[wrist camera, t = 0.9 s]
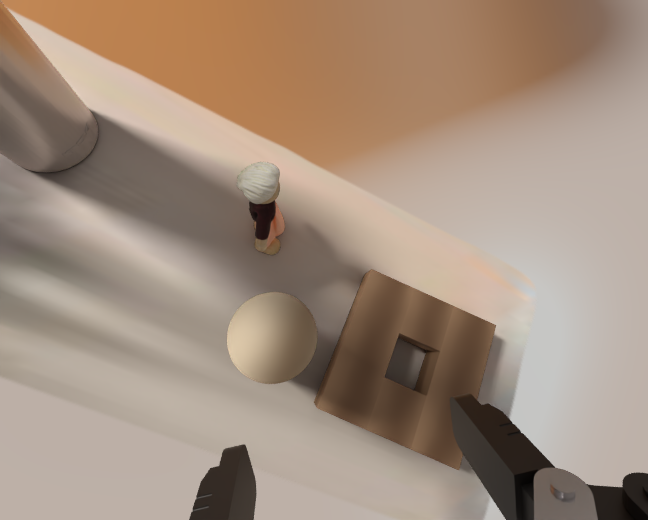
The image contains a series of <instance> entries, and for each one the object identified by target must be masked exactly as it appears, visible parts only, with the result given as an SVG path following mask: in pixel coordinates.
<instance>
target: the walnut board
mask: <svg viewBox="0 0 648 520" xmlns="http://www.w3.org/2000/svg"><path fill="white" fill-rule="evenodd" d="M495 328H496V325H494V324H492V323H490V322H488V321H485V320H483V319H481V318H479V317H477V316H474V315H472V314H470V313H468V312H465V311H463V310H461V309H459V308H457V307H454V306H452V305H450V304H448V303H446V302H443V301H441V300H439V299H437V298H434V297H432V296H430V295H428V294H426V293H423V292H421V291H419V290H417V289H414V288H412V287H410V286H408V285H406V284H403V283H401V282H399V281H397V280H394V279H392V278H390V277H388V276H386V275H383V274H381V273H379V272H377V271H375V270H372V269H371V270H370V271H369V272H368V273H366V274H365V275H364V277H363V280H362V282H361V285H360V287H359V290H358V292H357V295H356V297H355V300H354V302H353V305H352V307H351V310H350V313H349V315H348V318H347V320H346V323H345V325H344V328H343V330H342V333H341V335H340V338H339V340H338V343H337V345H336V348H335V350H334V353H333V355H332V358H331V360H330V363H329V365H328V368H327V371H326V373H325V376H324V378H323V381H322V383H321V386H320V388H319V391H318V393H317V396H316V398H315V401H314V403H315V405H316V407H317V408H318V409H320V410H323V411H325V412H327V413H329V414H332V415H334V416H336V417H339V418H341V419H343V420H345V421H348V422H350V423H352V424H355V425H357V426H359V427H361V428H364V429H366V430H368V431H370V432H373V433H375V434H377V435H380V436H382V437H384V438H386V439H389V440H391V441H393V442H396V443H398V444H400V445H402V446H405V447H407V448H409V449H411V450H414V451H416V452H418V453H421V454H423V455H425V456H427V457H430V458H432V459H434V460H437V461H439V462H441V463H443V464H446V465H448V466H450V467H452V468H455V469H457V470H459V468H460V465H461V461H462V457H463V453H462V451H461V450H460V448H459V446H458V444H457V442H456V440H455V437H454V433H453V427H452V418H451V409H450V398H451V397H454V396H458V395H462V394H466V393H470V394H472V395H473V396H474V397H475V399H476V400H477V398H478V394H479V390H480V386H481V382H482V378H483V375H484V371H485V367H486V363H487V359H488V355H489V351H490V347H491V343H492V339H493V335H494V331H495ZM398 338H400V339H402V340H404V341H406V342H409V343H411V344H413V345H415V346H418V347H420V348H422V349H424V350H427V351H426V355H425V358H424V361H423V364H422V367H421V371H420V374H419V377H418V380H417V383H416V387H415V390H412V389H410V388H408V387H405V386H403V385H401V384H399V383H396V382H394V381H392V380H390V379H387V378H385V377H384V376H385V374H386V371H387V368H388V365H389V362H390V359H391V356H392V353H393V350H394V347H395V344H396V341H397V339H398Z"/></svg>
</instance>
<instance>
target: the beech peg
mask: <svg viewBox="0 0 648 520" xmlns="http://www.w3.org/2000/svg"><path fill="white" fill-rule="evenodd" d="M317 337H318V336H317V327H316V323H315V320H314V318H313V315H312V314H311V312H310V310H309V309H308V308H307V307H306V305H304V304H303V303H302V302H301V301H300V300H298V299H297V298H295V297H293V296H291V295H288V294H285V293H281V292H268V293H262V294H259V295H257V296H254V297H252V298H251V299H249V300H247V301H246V302H245V303H244V304H242V306H241V307H240V308H239V309H238V310H237V311H236V313H235V314H234V316H233V318H232V320H231V322H230V325H229V328H228V334H227V346H228V351H229V354H230V357H231V359H232V361H233V363H234V365H235V366H236V367H237V369H238V370H239V371H240V372H241V373H242V374H244V375H245V376H246V377H248V378H250V379H252V380H254V381H257V382H260V383H265V384H276V383H281V382H285V381H288V380H290V379H292V378H294V377H295V376H297V375H298V374H300V373H301V372H302V371H303V370H304V369H305V368H306V367H307V365H308V364H309V362H310V361H311V359H312V357H313V355H314V353H315V350H316V346H317Z"/></svg>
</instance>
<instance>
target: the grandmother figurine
mask: <svg viewBox="0 0 648 520" xmlns="http://www.w3.org/2000/svg"><path fill="white" fill-rule="evenodd" d="M279 176H280V171H279V169H278V168H277V167H276V166H275V165H274V164H272V163H268V162H258V163H254V164H251V165H249V166H248V167H246V168H245V170H243V171H241V173H240V174H239V175H238V178H237V187H238V189H240V190H241V191H243V192H244V194H245V196H246V197H247V198H248V199H249V201H250V202H249V206H250V208H249V210H250V213H251V216H252V218H253V220H254V228H255V230H256V232H255V236H256V240H255V244H254V245H255V248H256V249H257V250H258V251H260V252H264V253H266V254H269V255H274V254H276V253H278V251H279V249H280V242H279V240H278V239H277V238H275V237H276V236H278V235H280V234H282V233H283V231H284V229H285V224H284V219H283V216H282V214H281V212H280V210H279V208H278V206H277V203H276V202H275V199H276V198H277V196H278V195H279V191H280V184H279Z"/></svg>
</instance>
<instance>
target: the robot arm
mask: <svg viewBox="0 0 648 520" xmlns="http://www.w3.org/2000/svg"><path fill="white" fill-rule="evenodd" d="M97 138H98V126H97V121H96V120H95V118H94V116H93V114H92V113H91V112H90V110H89V109H88V108H87V107H86V106H85V104H84V103H83V102H82V101H81V99H80V98H79V97H78V96H77V94H76V93H75V92H74V91H73V90H72V88H71V87H70V86H69V84H68V83H67V82H66V81H65V79H64V78H63V77H62V76H61V74H60V73H59V72H58V71H57V69H56V68H55V67H54V66H53V65H52V63H51V62H50V61H49V60H48V58H47V57H46V56H45V55H44V53H43V52H42V51H41V50H40V49H39V47H38V46H37V45H36V44H35V42H34V41H33V40H32V39H31V37H30V36H29V35H28V34H27V33H26V31H25V30H24V29H23V28H22V26H21V25H20V24H19V23H18V21H17V20H16V19H15V18H14V17H13V15H12V14H11V13H10V12H9V10H8V9H7V8H6V7H5V5H4V4H3V3H2V2H1V1H0V153H1V154H3V155H4V156H6V157H7V158H8V159H10V160H11V161H13V162H14V163H16V164H17V165H19V166H21V167H23V168H25V169H27V170H31V171H35V172H47V173H48V172H56V171H61V170H64V169H68V168H70V167H72V166H74V165H76V164H78V163H79V162H81V161H82V160H83V159H85V158H86V157H87V156H88V155H89V153H90V152H91V151H92V149H93V148H94V146H95V144H96V141H97ZM450 409H451V418H452V427H453V433H454V437H455V440H456V442H457V444H458V446H459V448H460V450H461V451H462V453H463V454H464V456H465V457H466V459H467V461H468V462H469V464H470V465H471V467H472V468H473V470H474V471H475V473H476V474H477V476H478V477H479V479H480V480H481V482H482V484H483V485H484V487H485V488H486V490H487V491H488V493H489V494H490V496H491V497H492V499H493V500H494V502H495V503H496V505H497V507H498V508H499V510H500V511H501V513H502V514H503V515H504V517H505V519H506V520H648V474H646V473H631V474H629V475H627V476H625V477H624V479H623V488H622V487H607V486H594V485H588V484H585V482H584V481H582V480H581V479H580V478H579V477H577V476H575V475H574V474H572V473H570V472H568V471H565V470H562V469H558V468H555V467H554V466H553V465H552V464H551V463H550V461H549V460H548V459H547V458H546V457H545V456H544V455H543V454H542V453H541V452H540V451H539V450H538V449H537V448H536V447H535V446H534V445H533V444H532V443H531V441H530V440H529V439H528V438H527V437H526V436H525V435H524V434H523V433H521V432H520V430H519V429H518V428H517V427H516V426H515V425H514V424H512V422H511V421H510V419H509V418H508V417H507V416H506V415H505V414H504V413H503V412H502V411H500V410H498V409H497V408H495V407H493V406H491V405H490V404H485V405H481V404H480V403H479V402H478V401H477V400H476V399H475V397H474V396H473V395H472V394H470V393H466V394H462V395H458V396H454V397H451V398H450ZM255 501H256V481H255V476H254V473H253V469H252V465H251V462H250V458H249V455H248V451H247V448H246V446H245V445H239V446H235V447H231V448H226V449H224V450H223V453H222V457H221V461H220V465H219V466H218V467H213V468H210V470H209V471H208V473H207V474H206V475H205V477H204V478H203V480H202V481H201V483H200V487H199V490H198V493H197V499H196V500H195V503H194V506H193V512H192V513H191V516H190V519H189V520H253V519H254V510H255Z"/></svg>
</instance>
